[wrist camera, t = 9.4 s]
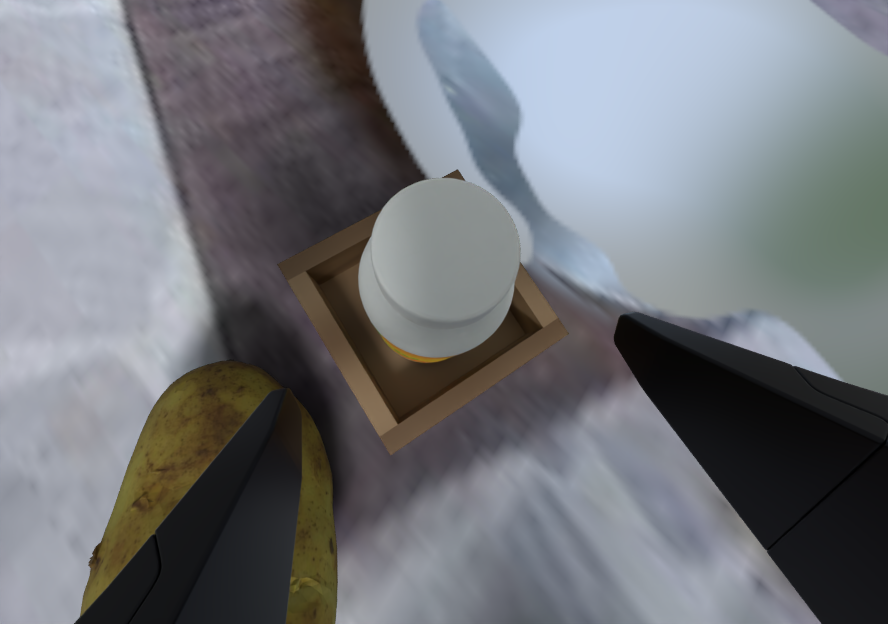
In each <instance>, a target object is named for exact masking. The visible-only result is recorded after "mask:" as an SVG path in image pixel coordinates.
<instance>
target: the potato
mask: <svg viewBox="0 0 888 624" xmlns="http://www.w3.org/2000/svg"><path fill="white" fill-rule="evenodd" d="M282 388H284V387H283V386H281V385H280V384H279V383H278V382H277V381H276V380H275V379H274V378H273V377H272V376H270V375H269V374H268V373H267V372H265V371H264V370H263V369H261V368H259V367H257V366H254V365H251V364H246V363H243V362H238V361H234V360H227V361H220V362H216V363H212V364H208V365H205V366H202V367H199V368H197V369H194V370H192V371H190V372H188V373H186V374H185V375H183V376H182V377H180V378H179V379H177V380H176V381H175V382H173V383H172V384H171V385H170V386H169V387H168V388H167V389H166V391H165V392H164V393H163V394H162V395H161V397H160V398H159V399H158V401H157V402H156V404H155V405H154V407H153V409H152V410H151V412H150V414H149V416H148V418H147V421H146V423H145V425H144V427H143V430H142V432H141V434H140V437H139V439H138V442H137V444H136V447H135V450H134V452H133V455H132V457H131V460H130V462H129V465H128V467H127V470H126V473H125V476H124V479H123V482H122V485H121V488H120V491H119V494H118V497H117V500H116V503H115V506H114V509H113V512H112V514H111V517H110V520H109V522H108V525H107V527H106V530H105V533H104V535H103V538H102V541H101V543H99V544H98V545H97V546H96V547H95V549H94V551H93V553H92V554H93V556H92V557H91V558H90V559H91V560H90V561H89V563H90V564H89V565H88V566H90V568H91V570H90V576H89V580H88V583H87V586H86V588H85V591H84V595H83V601H82V607H81V614H80V617H81V615H82V614H83V613H84V612H85V611H86V610H87V609H88V608H89V607H90V605H91V604H92V603H93V602H94V601H95V600H96V599H97V598H98V597H99V596H100V594H101V593H102V592H103V591H104V590H105V589H106V588H107V587H108V585H109V584H110V583H111V582H112V581H113V580H114V578H115V577H116V576H117V575H118V574H119V573H120V571H121V570H122V569H123V568H124V567H125V566H126V564H127V563H128V562H129V561H130V560H131V559H132V557H133V556H134V555H135V554H136V553H137V551H138V550H139V549H140V548H141V547H142V545H143V544H144V543H145V542H146V541H147V539H148V538H149V537H150V536H151V535H152V534H155V530H156V529H157V527H158V526H159V525H160V524H161V523H162V521H163V520H164V519H165V518H166V517H167V515H168V514H169V513H170V512H171V511H172V509H173V508H174V507H175V506H176V505H177V503H178V502H179V501H180V500H181V499H182V497H183V496H184V495H185V494H186V492H187V491H188V490H189V489H190V488H191V486H192V485H193V484H194V483H195V482H196V480H197V479H198V478H199V477H200V476H201V474H202V473H203V472H204V471H205V470H206V468H207V467H208V466H209V465H210V463H211V462H212V461H213V460H214V459H215V457H216V456H217V455H218V454H219V453H220V451H221V450H222V449H223V448H224V447H225V445H226V444H227V443H228V442H229V441H230V439H231V438H232V437H233V436H234V434H235V433H236V432H237V431H238V430H239V428H240V427H241V426H242V425H243V424H244V422H245V421H246V420H247V419H248V418H249V416H250V415H251V414H252V413H253V412H254V410H255V409H256V408H257V407H258V406H259V404H260V403H261V402H262V401H263V399H264V398H265V397H266V396H267V395H268V393H269V392H271V391H273V390H277V389H282ZM294 398H295V397H294ZM295 400H296V402H297V404H298V406H299V408H300V410H301V415H302V482H301V492H300V501H299V510H298V519H297V527H296V536H295V545H294V554H293V563H292V572H291V581H290V590H289V599H288V607H287V616H286V624H335V619H336V608H337V583H338V579H337V543H336V534H335V526H334V517H333V506H332V504H333V482H332V473H331V469H330V464H329V461H328V458H327V454H326V451H325V448H324V444H323V442H322V439H321V436H320V434H319V431H318V429H317V427H316V425H315V423H314V421H313V419H312V417H311V416H310V414H309V413H308V411H307V410H306V409H305V408H304V406H303V405H302V404H301V403H300V402H299V401H298V400H297V398H295Z"/></svg>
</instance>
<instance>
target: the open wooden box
mask: <svg viewBox="0 0 888 624" xmlns="http://www.w3.org/2000/svg"><path fill="white" fill-rule="evenodd" d="M442 178H453V179H459V180H463V181H465V180H464V178H463V176H462V175H461V173H460V172H459V171H458V170H456V171H454V172H452V173H450V174H448V175H446V176H444V177H442ZM381 211H382V210H380V211H378V212H376V213H374V214H372V215H370V216H368V217H366V218H364V219H363V220H361V221H359V222H357V223H355V224H353V225H351V226H349V227H347V228H345V229H344V230H342V231H340V232H338V233H336V234H334V235H332V236H330V237H328V238H326V239H325V240H323V241H321V242H319V243H317V244H315V245H313V246H311V247H309V248H307V249H306V250H304V251H302V252H300V253H298V254H296V255H294V256H292V257H290V258H289V259H287V260H285V261H283V262H281V263H279V264H277V265H278V266H279V268H280V270H281V271H282V273H283V275H284V277H285V278H286V280H287V282H288V283H289V285H290V287H291V288H292V290H293V292H294V293H295V295H296V297H297V298H298V300H299V302H300V304H301V305H302V307H303V309H304V310H305V312H306V314H307V315H308V317H309V319H310V320H311V322H312V324H313V325H314V327H315V329H316V331H317V332H318V334H319V336H320V337H321V339H322V341H323V342H324V344H325V346H326V347H327V349H328V351H329V352H330V354H331V356H332V358H333V359H334V361H335V363H336V364H337V366H338V368H339V369H340V371H341V373H342V374H343V376H344V378H345V379H346V381H347V383H348V385H349V386H350V388H351V390H352V391H353V393H354V395H355V396H356V398H357V400H358V401H359V403H360V405H361V406H362V408H363V410H364V412H365V413H366V415H367V417H368V418H369V420H370V422H371V423H372V425H373V427H374V428H375V430H376V432H377V433H378V435H379V437H380V439H381V440H382V442H383V444H384V445H385V447H386V449H387V450H388V452H389V454H390V455H392V454H393V453H395V452H396V451H398V450H399V449H401V448H402V447H404V446H405V445H406V444H408V443H409V442H411V441H412V440H414V439H415V438H417V437H418V436H420V435H421V434H423V433H424V432H426V431H427V430H428V429H430V428H431V427H433V426H434V425H436V424H437V423H439V422H440V421H442V420H443V419H445V418H446V417H448V416H449V415H450V414H452V413H453V412H455V411H456V410H458V409H459V408H461V407H462V406H464V405H465V404H467V403H468V402H470V401H471V400H472V399H474V398H475V397H477V396H478V395H480V394H481V393H483V392H484V391H486V390H487V389H489V388H490V387H492V386H493V385H494V384H496V383H497V382H499V381H500V380H502V379H503V378H505V377H506V376H508V375H509V374H511V373H512V372H514V371H515V370H516V369H518V368H519V367H521V366H522V365H524V364H525V363H527V362H528V361H530V360H531V359H533V358H534V357H536V356H537V355H538V354H540V353H541V352H543V351H544V350H546V349H547V348H549V347H550V346H552V345H553V344H555V343H556V342H557V341H559V340H560V339H562V338H563V337H565V336H566V335H568V334H569V333H568V332H567V330H566V329H565V327H564V326H563V324H562V323H561V321H560V320H559V318H558V317H557V315H556V314H555V313H554V311H553V310H552V308H551V307H550V305H549V304H548V302H547V301H546V299H545V298H544V296H543V295H542V293H541V292H540V290H539V289H538V287H537V286H536V284H535V283H534V281H533V280H532V279H531V277H530V276H529V274H528V273H527V271H526V270H525V268H524V267H523V265H522V264H521V262H520V265H519V269H518V273H517V276H516V279H515V284H514V293H513V298H512V302H511V305H510V308H509V310H508V312H507V315H506V316H505V318H504V320H503V322H502V323H501V325H500V326H499V327H498V329H497V330H496V331H495V332H494V333H493V334H492V335H491V336H490V337H489V338H488V339H486V340H485V341H484V342H483V343H481V344H480V345H478V346H477V347H475V348H473V349H471V350H469V351H467V352H464V353H462V354H459V355H456V356H453V357H451V358H448V359H445V360H442V361H439V362H433V363H421V362H415V361H411V360H408V359H406V358H404V357H402V356H400V355H398V354H397V353H396V352H394V351H393V350H392V349H391V348H390V347H389V346H388V345H387V344H386V343H385V341H384V340H383V338H382V337H381V335H380V334H379V332H378V331H377V330H376V328H375V327H374V326H373V324H372V323H371V321H370V319H369V317H368V315H367V313H366V311H365V309H364V306H363V303H362V300H361V297H360V292H359V283H358V274H359V265H360V260H361V257H362V254H363V251H364V249H365V247H366V245H367V243H368V241H369V239H370V237H371V235H372V231H373V227H374V225H375V222H376V220H377V217H378V215H379V214H380V212H381Z"/></svg>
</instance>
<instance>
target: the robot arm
mask: <svg viewBox="0 0 888 624" xmlns="http://www.w3.org/2000/svg"><path fill="white" fill-rule="evenodd" d="M614 342H615V345H616V347H617V348H618V350H619V352H620V353H621V355H622V357H623V358H624V360H625V361H626V363H627V365H628V366H629V368H630V370H631V371H632V373H633V374H634V376H635V378H636V379H637V381H638V383H639V384H640V386H641V387H642V389H643V390H644V391H645V393H646V394H647V396H648V397H649V398H650V400H651V401H652V402H653V404H654V405H655V406H656V407H657V409H658V410H659V411H660V413H661V414H662V415H663V417H664V418H665V419H666V421H667V422H668V423H669V424H670V426H671V427H672V428H673V430H674V431H675V432H676V434H677V435H678V436H679V438H680V439H681V440H682V441H683V443H684V444H685V445H686V447H687V448H688V449H689V451H690V452H691V453H692V455H693V456H694V457H695V458H696V460H697V461H698V462H699V464H700V465H701V466H702V468H703V469H704V470H705V472H706V473H707V474H708V475H709V477H710V478H711V479H712V481H713V482H714V483H715V485H716V486H717V487H718V489H719V490H720V491H721V492H722V494H723V495H724V496H725V498H726V499H727V500H728V502H729V503H730V504H731V506H732V507H733V508H734V509H735V511H736V512H737V513H738V515H739V516H740V517H741V519H742V520H743V521H744V523H745V524H746V525H747V527H748V528H749V529H750V530H751V532H752V533H753V534H754V536H755V537H756V538H757V540H758V541H759V542H760V544H761V545H762V546H763V547H764V549H765V550H767V553H768V554H769V556H770V557H771V558H772V560H773V561H774V562H775V563H776V565H777V566H778V567H779V569H780V570H781V571H782V573H783V574H784V575H785V577H786V578H787V579H788V581H789V582H790V583H791V584H792V586H793V587H794V588H795V590H796V591H797V592H798V594H799V595H800V596H801V598H802V599H803V600H804V601H805V603H806V604H807V605H808V607H809V608H810V609H811V611H812V612H813V613H814V615H815V616H816V617H817V619H818V620H819V621H820V622H821V624H888V395H884V394H881V393H878V392H874V391H871V390H868V389H864V388H861V387H858V386H855V385H851V384H848V383H845V382H842V381H839V380H836V379H833V378H830V377H827V376H824V375H821V374H817V373H814V372H812V371H809V370H806V369H803V368H800V367H797V366H792V365H791V364H788V363H785V362H782V361H779V360H776V359H773V358H770V357H767V356H765V355H762V354H759V353H756V352H753V351H750V350H747V349H744V348H741V347H738V346H735V345H732V344H729V343H726V342H724V341H721V340H718V339H715V338H712V337H709V336H706V335H703V334H700V333H697V332H694V331H691V330H688V329H685V328H683V327H680V326H677V325H674V324H671V323H668V322H665V321H662V320H659V319H656V318H653V317H650V316H647V315H644V314H642V313H639V312H630V313H625V314H622V315H621V316H620V317H619V319H618V323H617V326H616V330H615V334H614ZM301 482H302V415H301V410H300V408H299V406H298V404H297V402H296V400H295V398H294V395H293V393H292V391H291V390H290V389H289V388H282V389H277V390H273V391H271V392H269V393H268V395H267V396H266V397H265V398H264V399H263V401H262V402H261V403H260V404H259V406H258V407H257V408H256V409H255V410H254V412H253V413H252V414H251V415H250V416H249V418H248V419H247V420H246V421H245V422H244V424H243V425H242V426H241V427H240V428H239V430H238V431H237V432H236V433H235V434H234V436H233V437H232V438H231V439H230V441H229V442H228V443H227V444H226V445H225V447H224V448H223V449H222V450H221V451H220V453H219V454H218V455H217V456H216V457H215V459H214V460H213V461H212V462H211V463H210V465H209V466H208V467H207V468H206V470H205V471H204V472H203V473H202V474H201V476H200V477H199V478H198V479H197V480H196V482H195V483H194V484H193V485H192V486H191V488H190V489H189V490H188V491H187V492H186V494H185V495H184V496H183V497H182V499H181V500H180V501H179V502H178V503H177V505H176V506H175V507H174V508H173V509H172V511H171V512H170V513H169V514H168V515H167V517H166V518H165V519H164V520H163V521H162V523H161V524H160V525H159V526H158V527H157V529H156V530H155V534H152V535H151V536H150V537H149V538H148V539H147V541H146V542H145V543H144V544H143V545H142V547H141V548H140V549H139V550H138V551H137V553H136V554H135V555H134V556H133V557H132V559H131V560H130V561H129V562H128V563H127V564H126V566H125V567H124V568H123V569H122V570H121V571H120V573H119V574H118V575H117V576H116V577H115V578H114V580H113V581H112V582H111V583H110V584H109V585H108V587H107V588H106V589H105V590H104V591H103V592H102V593H101V594H100V596H99V597H98V598H97V599H96V600H95V601H94V602H93V603H92V604H91V605H90V607H89V608H88V609H87V610H86V611H85V612H84V613H83V614H82V615H81V617H80V618H79V619H78V620H77V621H76V622H75V623H74V624H286V616H287V607H288V599H289V590H290V581H291V572H292V563H293V554H294V545H295V536H296V527H297V519H298V510H299V501H300V492H301Z"/></svg>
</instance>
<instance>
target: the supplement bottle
mask: <svg viewBox="0 0 888 624" xmlns="http://www.w3.org/2000/svg"><path fill="white" fill-rule="evenodd" d="M520 252H521V249H520V241H519V236H518V232H517V229H516V227H515V224H514V222H513V220H512V218H511V217H510V215H509V213H508V211H507V210H506V209H505V207H504V206H503V205H502V204H501V203H500V202H499V201H498V200H497V199H496V198H495V197H494V196H493V195H491V194H490V193H489V192H487V191H486V190H484V189H483V188H481V187H479V186H477V185H474V184H472V183H469V182H466V181H463V180H459V179H453V178H433V179H428V180H423V181H420V182H417V183H414V184H412V185H410V186H408V187H406V188H404V189H403V190H401V191H399V192H398V193H397V194H396V195H395V196H393V197H392V198H391V199H390V200H389V201H388V202H387V204H386V205H385V206H384V207H383V209H382V211H381V212H380V214H379V215H378V217H377V220H376V222H375V225H374V227H373V231H372V235H371V237H370V239H369V241H368V243H367V245H366V247H365V249H364V251H363V254H362V257H361V260H360V265H359V274H358V283H359V292H360V297H361V300H362V303H363V306H364V309H365V311H366V313H367V315H368V317H369V319H370V321H371V323H372V324H373V326H374V327H375V328H376V330H377V331H378V332H379V334H380V335H381V337H382V338H383V340H384V341H385V343H386V344H387V345H388V346H389V347H390V348H391V349H392V350H393V351H394V352H396V353H397V354H398V355H400V356H402V357H404V358H406V359H408V360H411V361H415V362H421V363H433V362H439V361H442V360H445V359H448V358H451V357H453V356H456V355H459V354H462V353H464V352H467V351H469V350H471V349H473V348H475V347H477V346H478V345H480V344H481V343H483V342H484V341H485V340H486V339H488V338H489V337H490V336H491V335H492V334H493V333H494V332H495V331H496V330H497V329H498V327H499V326H500V325H501V323H502V322H503V320H504V318H505V316H506V315H507V312H508V310H509V308H510V305H511V302H512V298H513V293H514V284H515V279H516V276H517V273H518V269H519V265H520Z"/></svg>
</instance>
